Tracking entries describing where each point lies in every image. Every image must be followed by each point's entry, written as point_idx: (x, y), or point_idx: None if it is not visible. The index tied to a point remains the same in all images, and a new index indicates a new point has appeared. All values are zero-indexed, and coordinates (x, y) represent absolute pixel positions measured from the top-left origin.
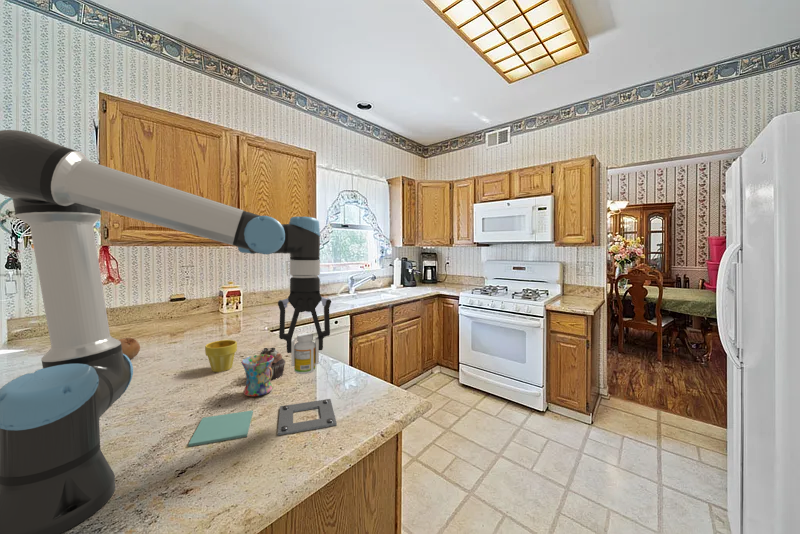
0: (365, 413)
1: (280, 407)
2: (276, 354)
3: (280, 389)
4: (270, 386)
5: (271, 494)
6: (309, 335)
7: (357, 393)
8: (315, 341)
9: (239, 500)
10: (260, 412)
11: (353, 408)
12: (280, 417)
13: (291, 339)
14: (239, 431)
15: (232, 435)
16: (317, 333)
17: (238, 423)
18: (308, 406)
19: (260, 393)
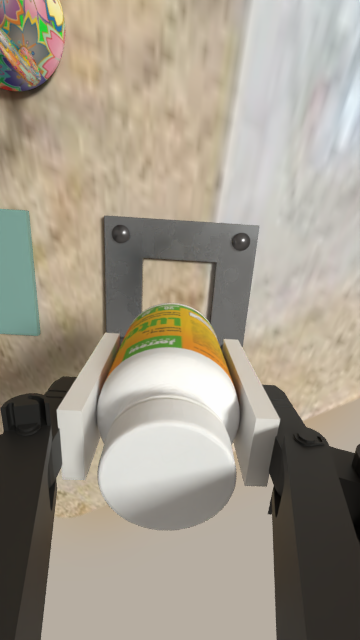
0: (321, 335)
1: (106, 224)
2: None
3: (98, 37)
4: (52, 41)
5: None
6: (201, 510)
7: (354, 205)
8: (244, 442)
9: (66, 487)
10: (51, 219)
11: (304, 299)
12: (109, 286)
13: (56, 487)
14: (17, 318)
15: (5, 328)
16: (273, 530)
17: (4, 276)
18: (186, 251)
19: (23, 87)
